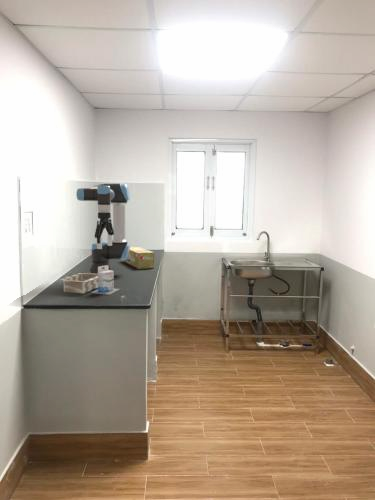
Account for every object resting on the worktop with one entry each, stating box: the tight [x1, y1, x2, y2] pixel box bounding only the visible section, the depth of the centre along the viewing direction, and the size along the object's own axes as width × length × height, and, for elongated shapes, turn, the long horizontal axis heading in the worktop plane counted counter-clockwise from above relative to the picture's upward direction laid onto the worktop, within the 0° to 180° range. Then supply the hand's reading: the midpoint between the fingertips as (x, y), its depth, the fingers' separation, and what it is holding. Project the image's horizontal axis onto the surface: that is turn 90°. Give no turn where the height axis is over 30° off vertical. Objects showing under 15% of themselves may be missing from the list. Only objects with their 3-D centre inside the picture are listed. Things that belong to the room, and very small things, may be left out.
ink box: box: [97, 265, 115, 292], centre depth 250 cm, size 9×5×15 cm, turn 141°
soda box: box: [124, 246, 155, 270], centre depth 345 cm, size 40×14×13 cm, turn 24°
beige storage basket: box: [59, 272, 98, 295], centre depth 256 cm, size 25×18×7 cm
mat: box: [90, 288, 121, 296], centre depth 251 cm, size 14×12×1 cm
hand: (104, 247), depth 253 cm, fingers open, 13 cm apart
